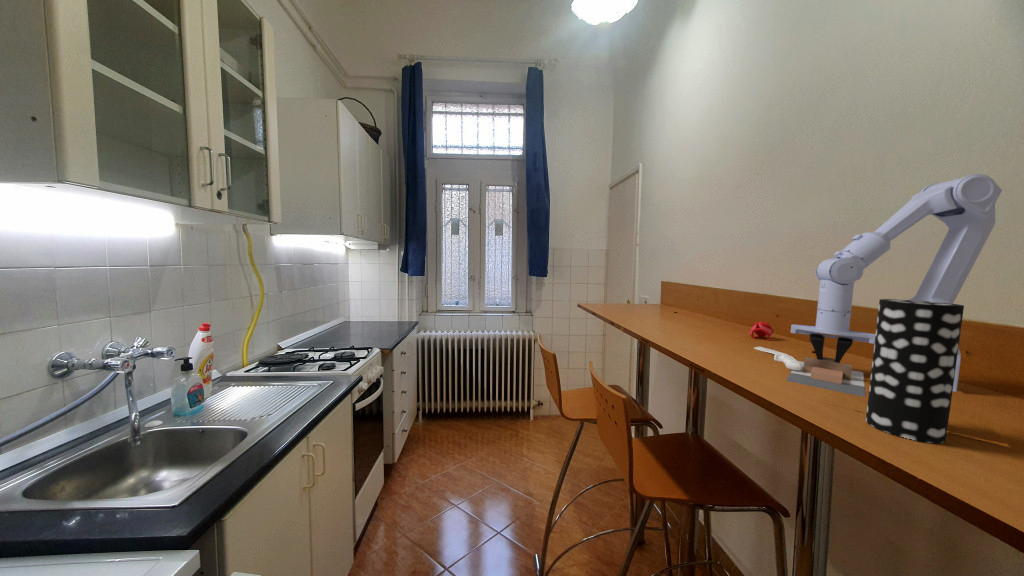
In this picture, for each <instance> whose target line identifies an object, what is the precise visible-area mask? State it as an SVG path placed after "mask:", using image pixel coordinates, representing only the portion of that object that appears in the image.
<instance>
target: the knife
mask: <svg viewBox="0 0 1024 576" xmlns="http://www.w3.org/2000/svg"><path fill="white" fill-rule="evenodd" d="M753 349H755V350H757V351H760V352H765V353H769V354H772V355H774V356H773V359H774V361H776V362H783V363H784V365H785V367H786V369H789V370H791V371H792V370H800V369H801V368H802V366H801V364H800V363H799V362H798V361H799V360H797V359H796V358H794V357H793V356H792V355H789V354H787V353H784V352H780V351H777V350H774V349H770V348H766V347H763V346H755V347H753Z"/></svg>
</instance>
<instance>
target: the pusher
mask: <svg viewBox="0 0 1024 576" xmlns="http://www.w3.org/2000/svg"><path fill="white" fill-rule="evenodd" d="M803 362H804V368H803V371H804V372H809V373H811V370H812V368H813V367H819V368H824V369H830V370H835V371H841V372H843V376H842V379H846V380H851V374H852V370H853V365H852V364H847V363H842V362H840V363H837V362H835V358H832V357H831V358H830V357H825V356H823V359H822V360H819V359H817V358H813V357H812V358H811V357H804V360H803Z"/></svg>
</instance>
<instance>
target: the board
mask: <svg viewBox="0 0 1024 576" xmlns="http://www.w3.org/2000/svg"><path fill="white" fill-rule="evenodd" d="M797 361H798V362H799V363H800V364H801V366H802V368H801V369H800V370H792V369H791V371H790V373H789V375H788V376H787V378H786V380H785V382H790V383H796V384H800V385H806V386H810V387H814V388H818V389H819V388H820V389H823V390H829V391H834V392H839V393H843V394H848V395H853V396H857V397H862V398H863V397H864V398H866V390H865V389H866V388H865V377H864V372H863V371H858V370H853V369H852V374H851V380H846V379H842V384H838V383H833V382H828V381H823V380H818V379H813V378H810V376H811V373H809V372H804V371H803V368H804V361H799V360H797Z"/></svg>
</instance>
